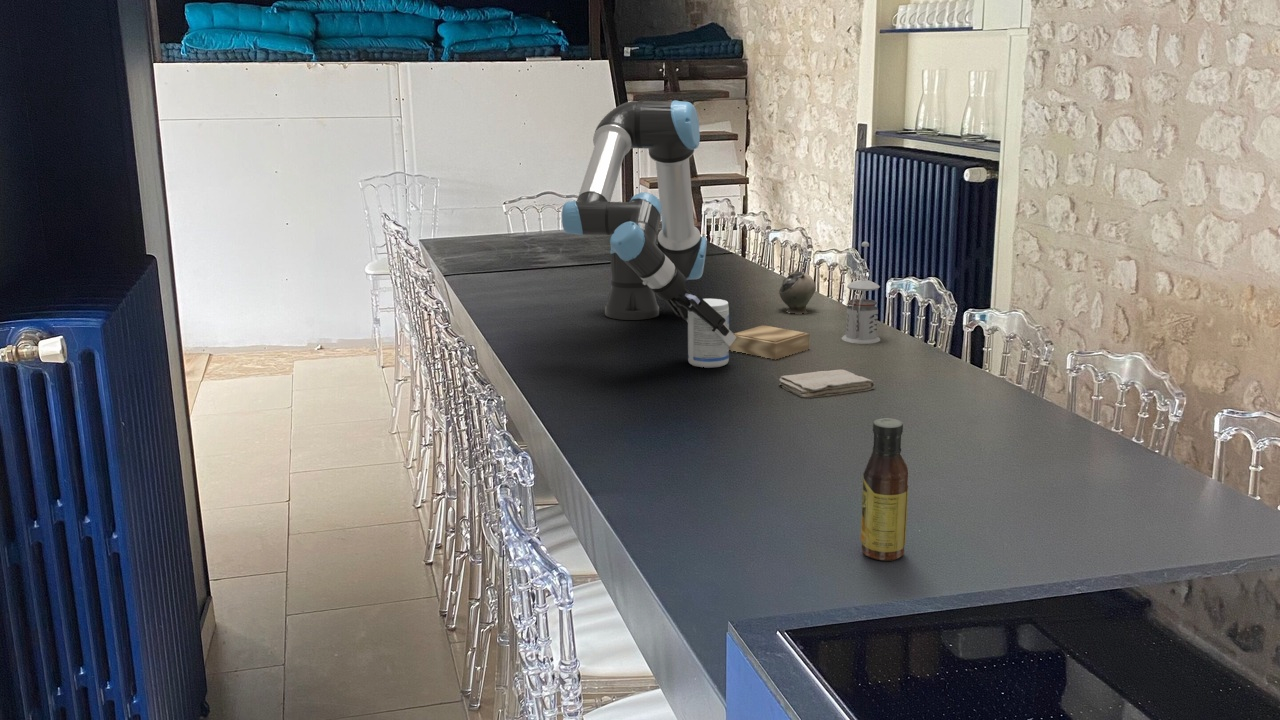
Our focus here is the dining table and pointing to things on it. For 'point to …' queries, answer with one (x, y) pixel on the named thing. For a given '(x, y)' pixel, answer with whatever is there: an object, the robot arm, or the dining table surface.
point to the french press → (861, 313)
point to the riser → (770, 342)
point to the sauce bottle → (885, 494)
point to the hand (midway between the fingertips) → (719, 337)
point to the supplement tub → (707, 338)
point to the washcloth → (825, 383)
